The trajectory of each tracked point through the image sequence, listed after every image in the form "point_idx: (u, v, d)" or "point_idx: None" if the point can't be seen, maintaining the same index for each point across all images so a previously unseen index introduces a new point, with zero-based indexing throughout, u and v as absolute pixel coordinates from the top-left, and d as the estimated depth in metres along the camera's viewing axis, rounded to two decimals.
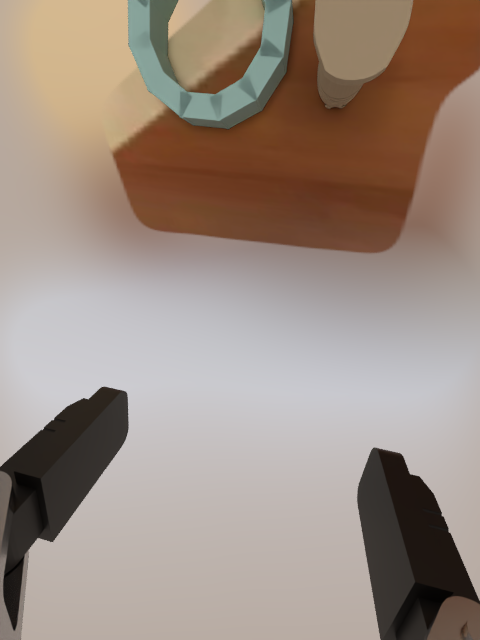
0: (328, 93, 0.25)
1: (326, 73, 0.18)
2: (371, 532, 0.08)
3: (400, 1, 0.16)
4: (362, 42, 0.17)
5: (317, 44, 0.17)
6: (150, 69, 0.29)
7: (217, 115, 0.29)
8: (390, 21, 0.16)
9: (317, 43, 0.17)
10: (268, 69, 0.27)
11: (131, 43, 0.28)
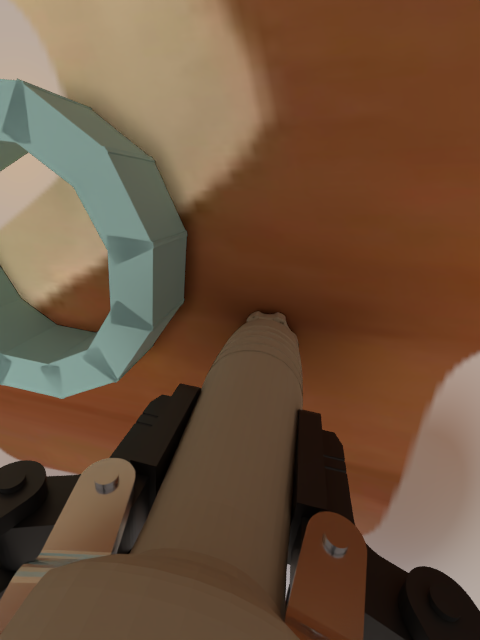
0: None
1: None
2: None
3: None
4: None
5: None
6: None
7: (57, 391, 0.17)
8: None
9: None
10: (129, 344, 0.15)
11: None
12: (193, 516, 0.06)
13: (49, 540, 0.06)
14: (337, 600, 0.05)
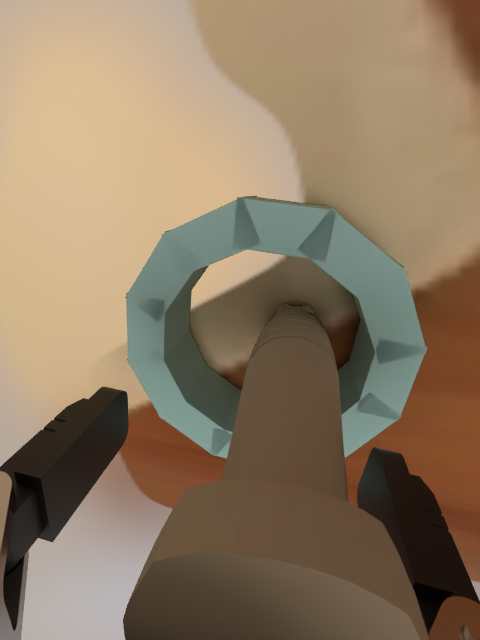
0: None
1: None
2: None
3: None
4: None
5: None
6: (164, 395, 0.17)
7: None
8: None
9: None
10: (369, 429, 0.16)
11: (133, 360, 0.17)
12: (274, 464, 0.07)
13: None
14: None
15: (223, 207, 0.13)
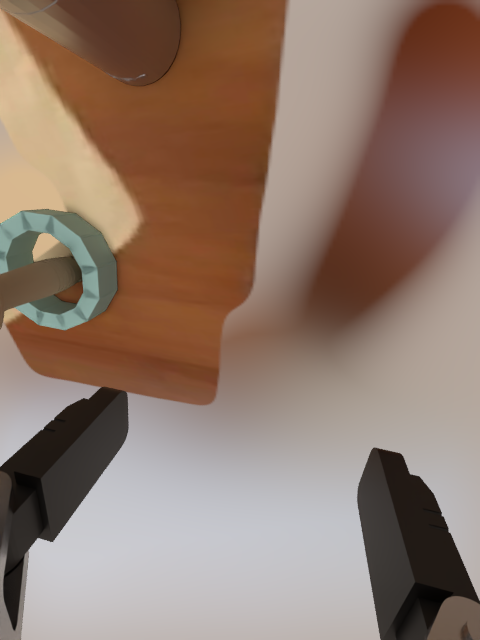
0: None
1: None
2: (371, 532, 0.08)
3: None
4: None
5: None
6: None
7: (63, 327, 0.40)
8: None
9: None
10: (91, 305, 0.38)
11: None
12: None
13: None
14: None
15: (17, 214, 0.36)
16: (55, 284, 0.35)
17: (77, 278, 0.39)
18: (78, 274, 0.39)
